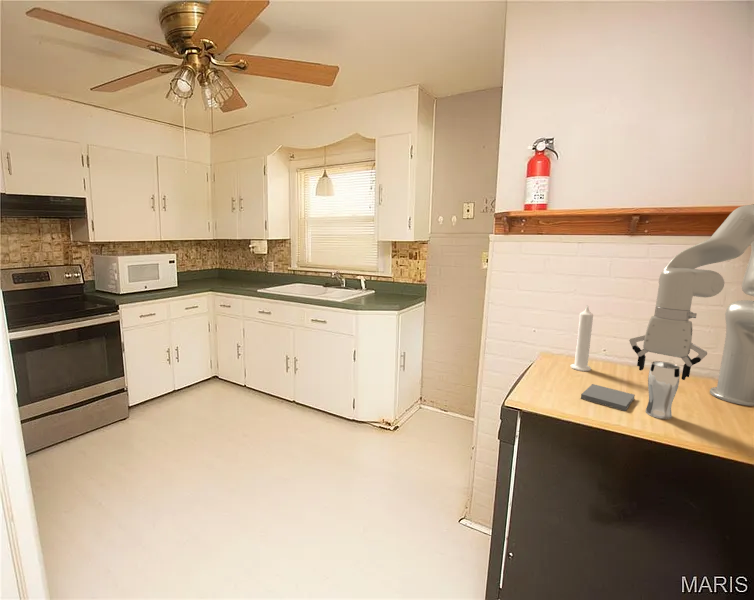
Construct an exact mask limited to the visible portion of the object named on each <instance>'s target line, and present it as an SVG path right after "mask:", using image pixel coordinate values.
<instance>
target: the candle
mask: <svg viewBox="0 0 754 600" xmlns="http://www.w3.org/2000/svg"><path fill="white" fill-rule="evenodd" d="M593 319H594V314H593V313H592V312H591V311H590V309H589V305H586V306H585V309H584V310H582V311H581V312H579V319H578V327H577V337H576V346H575V347H576V348H575V356H574V363H571V364H570V368H571V369H572V370H576V371H578V372H590V371H591V370H592V367H591V366H589V365H588V363H589V357H590V347H591V337H592V330H593V329H592V327H593Z"/></svg>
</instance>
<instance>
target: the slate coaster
mask: <svg viewBox="0 0 754 600" xmlns="http://www.w3.org/2000/svg"><path fill="white" fill-rule="evenodd" d="M580 394H581V395H580V399H581V400H584V401H588V402H590V403H591V402H592V403H596V404H599V405H602V406H607V407H609V408H612V409H617V410H619V411H624V412H626V411H627V410H628V409H629V407H630V405H631V404H632V402H634V400H635V396H636V395H635V394H633V393H630V392H626V391H621V390H618V389H613V388H611V387H610V388H609V387H605V386H601V385H598V384H594V383H592V384H591V385H590V386H589V387H587V388H586V389H585V390H584V391H583V392H582V393H580Z"/></svg>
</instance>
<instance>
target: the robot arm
mask: <svg viewBox="0 0 754 600" xmlns="http://www.w3.org/2000/svg"><path fill="white" fill-rule="evenodd" d="M749 246H750V248H751V250H750V251H751V252H750V256H749V259H748V262H747V264H746V265H747V266H746V269H745V271H744V275H743V278H742V282H741V290H742V292H743V294H745V295H746V296H747V295H748V296H750V297H754V204H753V203H752V204H745V205H741V206H739V207H737V208H735V209H734V210H733V211H732V212H731V213H729V215H728V216H727V218H726V219H724V221H723V222H722V223H721V225H720V226H719V227H718V228H717V229H716V230H715V231H714V233H713V234H712V235H711V237H709V239H706V240H704V241H701V242H699V243H697V244H695V245H693V246H690V247H689V248H686V249H684V250H682V251H681V252H679V253H677V254H676V255H675V256H673V258H672V259H671V260H669V262H668V263H667V264H666V266H665V267H664V268H663V269H662V271H661V272H660V275H659V276H658V277H659V278H658V289H657V296H656V302H655V303H656V304H655V309H654V315H652V316H651V317H650V319H649V321H648V325H647V328H646V332H645V334H644V335H641V336H640V335H639V336H635V337H632V338H630V339H629V340H628V341H629V344H630V346H631V348H632V350H633V351H634V352H635V353H636V355H637V356H638V357H637V364H636V366H637V367H638V371H643V370H644V368H645V363H646V354H647V353H653V354H657V355H658V354H659V355H664V356H669V357H674V358H679V359H680V358H681V359H682V361H683V363H684V365H683V368H682V372H681V373H682V374H681V377H680V379H681V380H682V381H685V380H686V378H690V373H691V368H692V366H694V365H696V364H699V363H700V362H701V361H702V360H703V359H704V358H705V357H706V356H707V355H708V352H707V350H704V349H703V348H701V347H699V346H698V345H696V344H695V343H693V342H692V339H693V322H692V321H691V320H690V319H696V318H697V313H696V312H693V311H692V309H691V307H692V302H693V297H697V298H711V297H715V296H718V295H719V294H720V293H721V292H722V291H723V290H724V287H725V279H724V277H723V275H722V274H721V273H719V272H717V271H714V270H710V269H700V267H704V266H707V265H711V264H718V263H723V262H726V261H731V260H735V259H736V258H739V257H741V256H742V255H743V254H744V253H745V251H746V250H747V249H748V248H749ZM725 309H726V310H725V313H724V315H725V337H724V338H725V339H724V344H723V345H724V346H723V351H722V357H721V362H720V369H719V374H718V379H717V384H716V385H717V386H714V387H711V388H710V389H709V393H710V395H712V396H713V397H715V398H716V399H720V400H722V401H725V402H728V403H732V404H737V405H740V406H748V407H754V300H751V299H750V300H749V299H746V300H745V299H743V300H737V301H736V300H735V301H733V302H732V303H730V304H729V305H728V306H727V308H725ZM642 341H643V345H642V346H643V347H642V349H641V348H640V346H638V344H637V343H638V342H642ZM691 350H693V351H694V352H695V353H696V354H697V353H698V355H697V356H695V357H694V358H691V357H690V356H689V355H690V352H691Z"/></svg>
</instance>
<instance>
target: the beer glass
mask: <svg viewBox="0 0 754 600" xmlns="http://www.w3.org/2000/svg"><path fill="white" fill-rule="evenodd" d="M680 375H681V366H679V365H678V364H675V363H672V362H668V361H663V360H662V361H661V360H660V361H659V360H655V361H651V363H650V367H649V370H648V377H647V379H648V380H647V386H648V387H647V388H648V389H647V390H648V403H647V405H646V407H645V413H646V414H647V415H648V416H650V417H651V418H655V419H660V420H671V419H672V404H673V402H674V398H675V397H676V394H677V392H678V389H679V385H680V379H681V376H680Z"/></svg>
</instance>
